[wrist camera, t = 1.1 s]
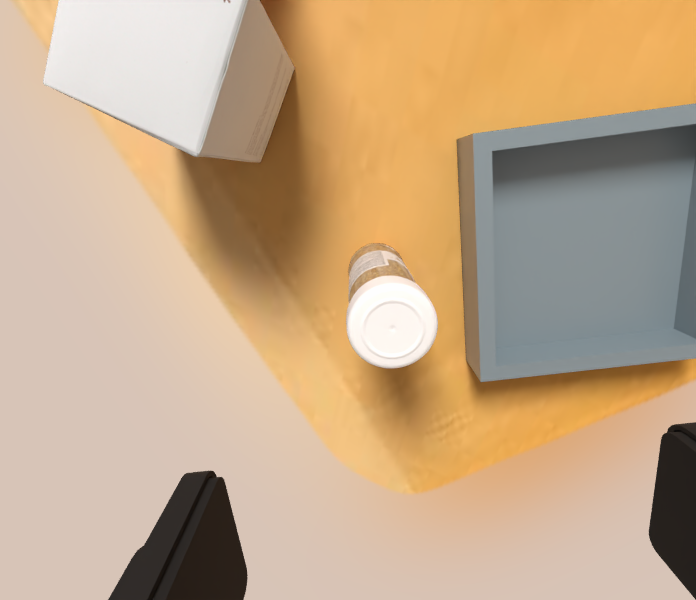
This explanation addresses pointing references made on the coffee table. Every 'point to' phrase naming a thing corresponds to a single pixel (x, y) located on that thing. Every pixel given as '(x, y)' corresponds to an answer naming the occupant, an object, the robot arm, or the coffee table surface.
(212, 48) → the supplement box
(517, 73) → the coffee table surface
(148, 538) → the robot arm
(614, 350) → the tray
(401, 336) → the sprinkles bottle
